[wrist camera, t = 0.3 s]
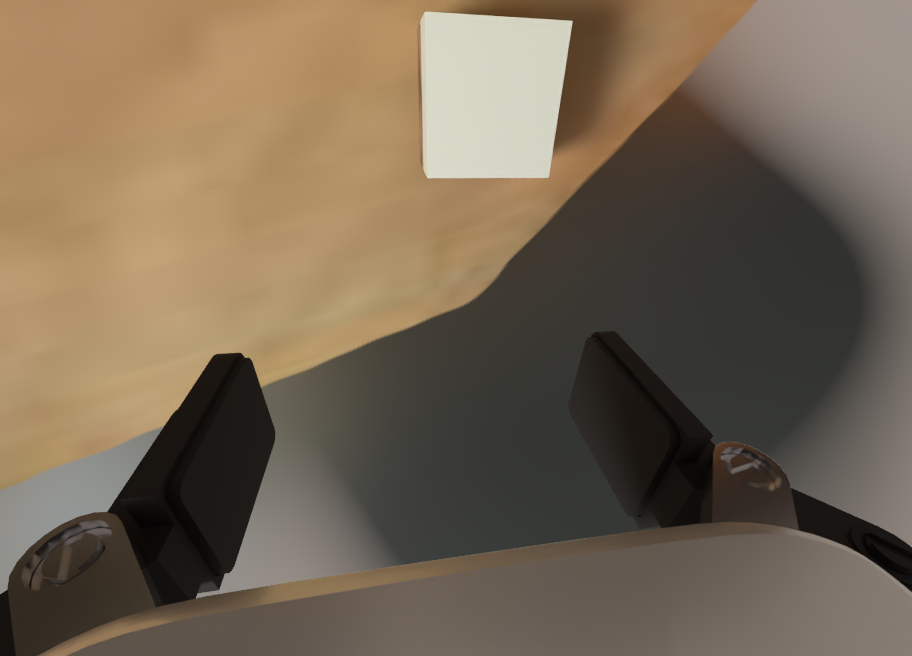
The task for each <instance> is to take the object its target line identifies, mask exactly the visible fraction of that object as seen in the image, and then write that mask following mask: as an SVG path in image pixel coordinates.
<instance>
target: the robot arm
mask: <svg viewBox="0 0 912 656" xmlns="http://www.w3.org/2000/svg"><path fill="white" fill-rule="evenodd" d="M569 412H570V415H571V417H572V419H573V420H574V422H575V424H576V426H577V427H578V429H579V431H580V433H581V434H582V436H583V438H584V440H585V442H586V444H587V445H588V447H589V449H590V451H591V452H592V454H593V456H594V458H595V460H596V461H597V463H598V465H599V467H600V469H601V470H602V472H603V474H604V476H605V477H606V479H607V481H608V483H609V485H610V486H611V488H612V490H613V492H614V493H615V495H616V497H617V499H618V501H619V502H620V504H621V506H622V508H623V509H624V511H625V513H626V514H627V515H628V516H632V517H633V518H634V520H635V522H636V524H637V525H638V527H639V529H641V528H646V527H654V526H658V525H660V526H661V528H660V529H652V530H643V531H636V532H628V533H622V534H615V535H607V536H600V537H593V538H586V539H579V540H572V541H565V542H558V543H550V544H543V545H536V546H530V547H523V548H516V549H509V550H502V551H495V552H489V553H482V554H475V555H468V556H462V557H454V558H448V559H441V560H434V561H428V562H421V563H414V564H407V565H401V566H394V567H388V568H381V569H374V570H368V571H361V572H355V573H348V574H341V575H335V576H329V577H321V578H315V579H308V580H303V581H295V582H289V583H283V584H277V585H271V586H265V587H259V588H253V589H247V590H241V591H236V592H230V593H224V594H218V595H212V596H206V597H201V598H197V599H195V598H196V596H197V593H202V592H209V591H216V590H219V589H220V586H221V582H222V580H223V577H224V574H225V573H230V572H231V571H232V569H233V567H234V565H235V562H236V559H237V556H238V553H239V550H240V547H241V544H242V540H243V537H244V534H245V531H246V528H247V525H248V522H249V519H250V516H251V513H252V510H253V506H254V503H255V500H256V497H257V494H258V491H259V488H260V485H261V482H262V479H263V476H264V473H265V470H266V467H267V463H268V460H269V457H270V454H271V451H272V448H273V445H274V441H275V430H274V426H273V423H272V420H271V417H270V414H269V411H268V408H267V405H266V402H265V399H264V396H263V393H262V390H261V387H260V384H259V381H258V378H257V375H256V372H255V369H254V366H253V363H252V360H251V359H250V358H244V356H243V355H242V354H241V353H228V354H216V355H214V356H213V357H212V359H211V360H210V362H209V363H208V365H207V366H206V368H205V369H204V371H203V372H202V374H201V375H200V377H199V378H198V380H197V381H196V383H195V384H194V386H193V387H192V389H191V390H190V392H189V393H188V395H187V396H186V398H185V400H184V401H183V403H182V404H181V406H180V407H179V409H178V410H176V411H175V412H174V413H173V415H172V416H171V417H170V419H169V420H168V422H167V423H166V425H165V426H164V428H163V429H162V431H161V432H160V434H159V435H158V437H157V438H156V440H155V441H154V443H153V444H152V446H151V447H150V449H149V450H148V452H147V453H146V455H145V456H144V458H143V459H142V461H141V462H140V464H139V465H138V467H137V468H136V470H135V471H134V473H133V474H132V476H131V477H130V479H129V480H128V482H127V483H126V485H125V486H124V488H123V490H122V491H121V492H120V494H119V495H118V497H117V498H116V500H115V501H114V503H113V504H112V506H111V507H110V509H109V510H108V512H99V513H91V514H88V515H84V516H80V517H77V518H75V519H73V520H70V521H68V522H66V523H64V524H62V525H60V526H58V527H57V528H55V529H54V530H52V531H51V532H49V533H48V534H46V535H44V536H43V537H42V538H41V539H40V540H38V541H37V542H36V543H35V544H34V545H32V546H31V547H30V548H29V549H28V550H27V551H26V553H25V554H24V555H23V556H22V557H21V558H20V559H19V561H18V562H17V563H16V565H15V567H14V569H13V571H12V572H11V574H10V576H9V582H8V590H6V591H5V592H3V593H2V594H0V656H912V547H910V546H909V545H908V544H907V543H905V542H904V541H902V540H901V539H899V538H898V537H896V536H895V535H893V534H891V533H890V532H888V531H886V530H884V529H882V528H880V527H878V526H876V525H873V524H871V523H869V522H866V521H864V520H862V519H860V518H857V517H855V516H853V515H851V514H849V513H846V512H844V511H842V510H839V509H837V508H835V507H833V506H830V505H828V504H826V503H824V502H821V501H819V500H817V499H815V498H813V497H810V496H808V495H806V494H803V493H801V492H799V491H797V490H794V489H792V488H791V486H790V482H789V480H788V478H787V475H786V473H785V472H784V471H783V470H782V468H781V467H780V466H779V465H778V464H777V463H776V462H775V461H773V460H772V459H771V458H770V457H768V456H767V455H765V454H764V453H762V452H760V451H759V450H757V449H754V448H752V447H750V446H748V445H744V444H740V443H736V442H724V443H720V444H718V445H717V446H715V445H714V444H713V443H712V442H711V441H710V439H711V438H712V436H713V435H712V434H711V433H710V432H709V430H708V429H707V428H706V427H705V426H704V425H703V424H702V423H701V422H700V421H699V420H698V419H697V418H696V417H695V416H694V415H693V413H691V411H690V410H689V409H688V408H687V407H686V406H685V405H684V404H683V403H682V402H681V401H680V400H679V399H678V398H677V396H675V394H674V393H673V392H672V391H671V390H670V389H669V388H668V387H667V386H666V385H665V384H664V383H663V382H662V381H661V379H659V377H658V376H657V375H656V374H655V373H654V372H653V371H652V370H651V369H650V368H649V367H648V366H647V365H646V364H645V362H643V360H642V359H641V358H640V357H639V356H638V355H637V354H636V353H635V352H634V351H633V350H632V349H631V348H630V347H629V346H628V344H627V343H626V342H625V341H624V340H623V339H622V338H621V337H620V336H619V335H618V334H617V333H616V332H614V331H609V332H595V333H593V334H592V336H591V337H589V338H588V339H587V340H586V342H585V346H584V350H583V353H582V357H581V361H580V364H579V368H578V371H577V375H576V379H575V382H574V386H573V390H572V393H571V397H570V400H569Z"/></svg>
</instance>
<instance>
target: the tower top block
mask: <svg viewBox="0 0 912 656" xmlns="http://www.w3.org/2000/svg"><path fill="white" fill-rule="evenodd" d="M572 22H573V21H567V20H551V19H535V18H519V17H503V16H487V15H471V14H456V13H440V12H425V13H424V15H423V17H422V19H421V21H420V27H421V77H422V127H423V169H424V172H425V174H426V176H427V178H549V172H550V166H551V159H552V153H553V146H554V139H555V133H556V126H557V120H558V113H559V107H560V100H561V94H562V87H563V81H564V74H565V68H566V61H567V55H568V48H569V41H570V35H571V28H572Z"/></svg>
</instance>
